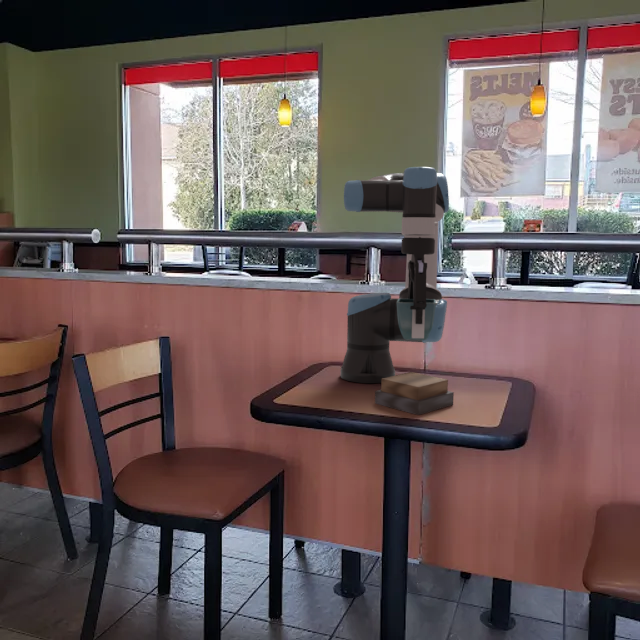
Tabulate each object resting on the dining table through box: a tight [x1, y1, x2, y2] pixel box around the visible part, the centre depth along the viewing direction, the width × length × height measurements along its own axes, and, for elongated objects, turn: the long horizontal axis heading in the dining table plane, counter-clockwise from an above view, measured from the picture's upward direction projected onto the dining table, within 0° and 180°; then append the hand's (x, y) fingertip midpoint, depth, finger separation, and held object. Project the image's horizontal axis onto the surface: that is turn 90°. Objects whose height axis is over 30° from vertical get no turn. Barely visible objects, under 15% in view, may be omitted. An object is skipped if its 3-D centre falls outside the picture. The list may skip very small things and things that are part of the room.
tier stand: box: [374, 371, 455, 416], centre depth 153 cm, size 13×13×6 cm
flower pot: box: [396, 298, 436, 340], centre depth 150 cm, size 9×9×9 cm
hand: (415, 334), depth 151 cm, fingers closed on flower pot, 9 cm apart
